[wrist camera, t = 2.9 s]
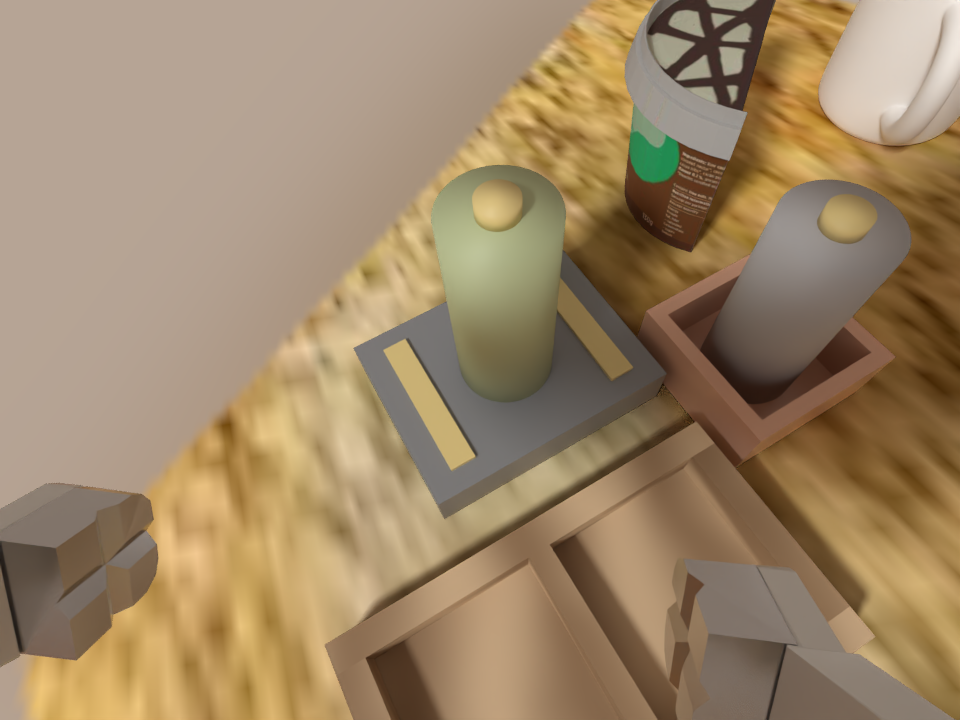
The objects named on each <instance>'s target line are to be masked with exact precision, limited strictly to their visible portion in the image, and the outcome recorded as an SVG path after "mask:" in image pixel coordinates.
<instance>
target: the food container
mask: <svg viewBox="0 0 960 720" xmlns="http://www.w3.org/2000/svg"><path fill="white" fill-rule="evenodd" d="M775 1H776V0H657V1H656V2H655V3H654V5H653V6H652V8H651V10H650V11H649V13H648V14H647V15H646V16H645V18H644V20H643V21H642V23H641V25H640V26H639V29H638V31H637V34H636V36H635V39H634V41H633V43H632V46H631V48H630V51H629V53H628V57H627V60H626V63H625V80H626V85H627V89H628V92H629V94H630V96H631V98H632V100H633V102H634V107H633V116H632V125H631V134H630V143H629V152H628V161H627V170H626V179H625V197H626V202H627V205H628V207H629V209H630V212H631V213H632V215H633V216H634V218H635V219H636V220H637V221H638V222H639V224H640V225H641V226H642V227H643V228H644V229H645V230H647V231H648V232H649V233H651V234H652V235H653V236H655V237H656V238H658V239H660V240H661V241H663V242H665V243H667V244H669V245H671V246H674V247H676V248H679V249H682V250H685V251H689V252H691V251H692V249H693V246H694V244H695V241H696V239H697V236H698V234H699V231H700V229H701V226H702V224H703V221H704V219H705V217H706V214H707V212H708V209H709V207H710V204H711V202H712V199H713V197H714V194H715V192H716V190H717V187H718V185H719V182H720V180H721V177H722V175H723V172H724V170H725V167H726V165H727V163H728V161H730V158H731V155H732V153H733V150H734V148H735V145H736V142H737V140H738V137H739V134H740V132H741V129H742V126H743V123H744V121H745V118H746V116H747V113H748V112H744V111H743V107H744V103H745V100H746V97H747V93H748V90H749V86H750V83H751V79H752V75H753V72H754V68H755V66H756V62H757V58H758V55H759V52H760V48H761V45H762V41H763V37H764V33H765V30H766V27H767V23H768V20H769V17H770V15H771V12H772V9H773V7H774V4H775Z"/></svg>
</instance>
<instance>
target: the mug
mask: <svg viewBox="0 0 960 720" xmlns="http://www.w3.org/2000/svg"><path fill="white" fill-rule="evenodd" d="M818 96H819V102H820V105H821V107H822V109H823V111H824V113H825V114H826V116H827V117H828V118H829V119H830V120H831V122H832V123H833V124H835V125H836V126H837V127H838V128H840V129H841V130H843V131H844V132H846V133H848V134H850V135H851V136H854V137H856V138H858V139H861V140H864V141H867V142H871V143H875V144H881V145H890V146H904V145H912V144H917V143H922V142H925V141H928V140H930V139H933V138H935V137H937V136H938V135H940V134H942V133H943V132H944V131H946V130H947V129H948V128H949V127H950V126H951V125H952V124H953V123H954V122H955V121H956V120H957V119H958V117H959V116H960V0H859V2H858V4H857V6H856V8H855V10H854V12H853V14H852V16H851V18H850V20H849V22H848V24H847V26H846V28H845V30H844V32H843V34H842V36H841V38H840V40H839V42H838V44H837V46H836V48H835V50H834V52H833V54H832V56H831V58H830V60H829V62H828V65H827V67H826V69H825V71H824V73H823V76H822V78H821V81H820V85H819V90H818Z"/></svg>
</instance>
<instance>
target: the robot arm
mask: <svg viewBox="0 0 960 720" xmlns="http://www.w3.org/2000/svg"><path fill="white" fill-rule="evenodd" d="M153 520H154V519H153V513H152V507H151V502H150V500H149V499H147V498H146V497H145V496H144V495H142V494H138V493H131V492H123V491H117V490H109V489H103V488H95V487H88V486H86V487H84V486H81V485H74V484H64V483H49V484H44V485H43V486H41V487H39V488H37V489H35V490H34V491H32V492H30V493H28V494H27V495H25V496H23V497H21V498H19V499H17V500H16V501H14V502H12V503H10V504H8V505H7V506H5V507H3V508H1V509H0V667H2V666H3V665H5V664H7V663H9V662H11V661H13V660H15V659H16V658H18V657H20V654H28V655H37V656H45V657H53V658H62V659H70V660H77V659H78V658H80V657H81V656H82V655H83V654H84V653H85V652H86V651H87V650H88V649H89V648H90V647H91V646H92V645H93V644H94V643H95V642H96V641H97V640H98V639H99V638H100V637H101V636H102V635H103V634H105V633H106V632H107V631H108V630H109V629H110V628H111V627H112V621H113V614H116V613H118V612H120V611H122V610H125V609H127V608H129V607H131V606H133V605H134V604H135V603H136V602H137V601H138V600H139V599H140V598H141V597H142V596H143V595H144V594H145V593H146V592H147V591H148V589H149V587H150V585H151V583H152V581H153V579H154V577H155V575H156V570H157V564H158V551H157V544H156V543H155V541H154V540H153V539H152V538H151V536H150V535H149V534H148V532H147V531H146V530H147V529H148V527H149V526H150V524H151V523H152V521H153ZM672 586H673V589H674V593H675V597H676V600H677V601H676V602H675V603H674V604H673V605H672V606H671V607H669V608H668V609H667V616H666V623H665V639H664V652H665V661H666V668H667V673H668V678H669V681H670V682H671V683H672V684H673V685H674V686H675V687H676V688H677V690H678V695H677V701H676V707H675V710H676V714H677V719H678V720H955V719H953V718H952V717H950V716H949V715H947V714H946V713H945V712H943V711H942V710H940V709H939V708H937V707H936V706H934V705H933V704H931V703H930V702H928V701H927V700H925V699H924V698H923V697H921V696H920V695H918V694H917V693H915V692H914V691H912V690H911V689H909V688H908V687H906V686H905V685H904V684H902V683H901V682H899V681H898V680H896V679H895V678H893V677H892V676H890V675H889V674H887V673H886V672H884V671H883V670H882V669H880V668H879V667H877V666H876V665H874V664H873V663H871V662H870V661H868V660H867V659H865V658H864V657H862V656H861V655H860V654H852V653H847V652H846V651H845V649H844V648H843V646H842V644H841V643H840V641H839V640H838V638H837V636H836V635H835V633H834V632H833V630H832V629H831V627H830V625H829V624H828V622H827V621H826V619H825V617H824V616H823V614H822V613H821V611H820V610H819V608H818V606H817V605H816V603H815V602H814V600H813V598H812V597H811V595H810V594H809V592H808V590H807V589H806V587H805V586H804V584H803V583H802V581H801V579H800V578H799V576H798V575H797V573H796V572H795V571H794V570H792V569H791V568H789V567H777V566H765V565H753V564H752V565H749V564H738V563H727V562H717V561H706V560H695V559H685V558H678V559H677V562H676V565H675V567H674V573H673V578H672Z"/></svg>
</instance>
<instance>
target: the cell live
mask: <svg viewBox="0 0 960 720" xmlns="http://www.w3.org/2000/svg"><path fill="white" fill-rule="evenodd" d="M565 219H566V209H565V204H564V201H563V198H562V196H561V194H560V192H559V191H558V190H557V188H556V187H555V186H554V185H553V184H552V183H551V182H550V181H549V180H547V179H546V178H545V177H543V176H542V175H540V174H538V173H536V172H534V171H531V170H529V169H525V168H522V167H517V166H510V165H493V166H485V167H480V168H477V169H473V170H471V171H468V172H466V173H464V174H462V175H460V176H458V177H457V178H455V179H454V180H452V181H451V182H450V183H449V184H447V185H446V186H445V187H444V188H443V190H442V191H441V192H440V193H439V195H438V196H437V198H436V200H435V202H434V205H433V208H432V214H431V223H432V228H433V233H434V238H435V243H436V249H437V254H438V259H439V264H440V269H441V274H442V279H443V284H444V289H445V294H446V300H447V305H448V310H449V315H450V320H451V325H452V330H453V335H454V340H455V345H456V351H457V356H458V361H459V366H460V371H461V374H462V377H463V379H464V381H465V382H466V384H467V385H468V387H469V388H470V389H471V390H472V391H474V392H475V393H476V394H478V395H479V396H481V397H483V398H485V399H488V400H491V401H495V402H515V401H519V400H522V399H525V398H527V397H529V396H531V395H533V394H534V393H536V392H537V391H538V390H539V389H540V388H541V387H542V386H543V385H544V383H545V382H546V380H547V379H548V377H549V374H550V371H551V366H552V357H553V346H554V335H555V325H556V314H557V304H558V293H559V283H560V272H561V262H562V251H563V240H564V230H565Z"/></svg>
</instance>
